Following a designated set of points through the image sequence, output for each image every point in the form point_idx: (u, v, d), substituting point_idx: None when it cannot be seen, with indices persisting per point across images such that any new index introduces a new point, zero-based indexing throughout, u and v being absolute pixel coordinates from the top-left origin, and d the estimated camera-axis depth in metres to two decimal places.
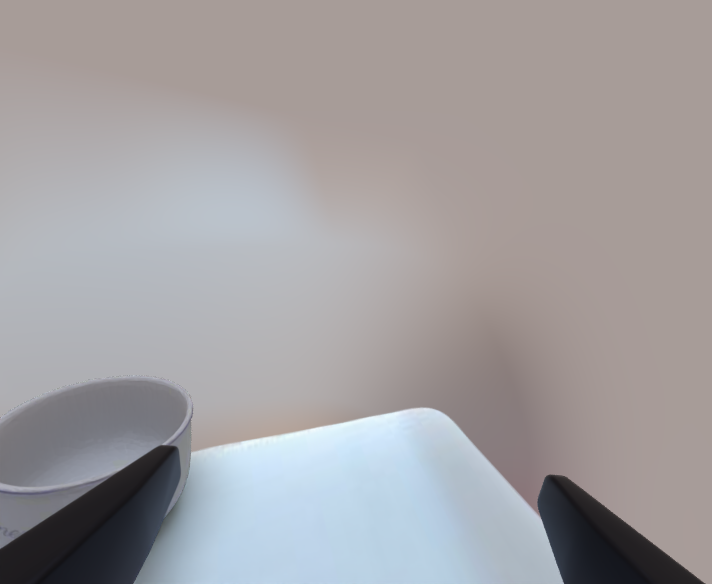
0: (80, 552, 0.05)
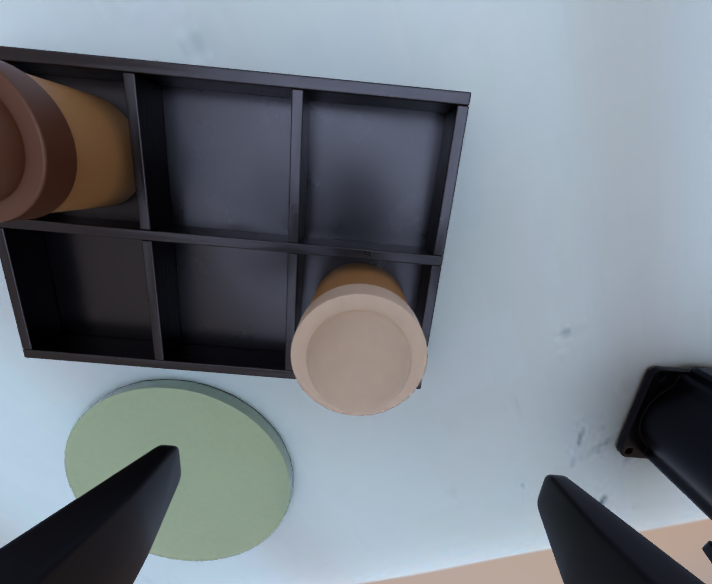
0: (80, 552, 0.05)
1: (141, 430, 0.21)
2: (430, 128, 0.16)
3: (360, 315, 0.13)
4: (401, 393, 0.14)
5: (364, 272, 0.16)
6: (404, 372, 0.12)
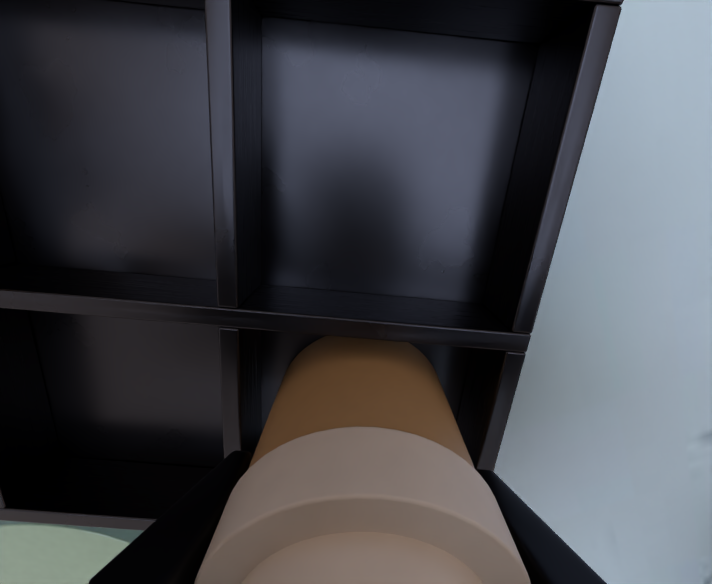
0: (190, 560, 0.05)
1: None
2: (505, 76, 0.08)
3: (367, 561, 0.04)
4: None
5: (372, 364, 0.08)
6: None
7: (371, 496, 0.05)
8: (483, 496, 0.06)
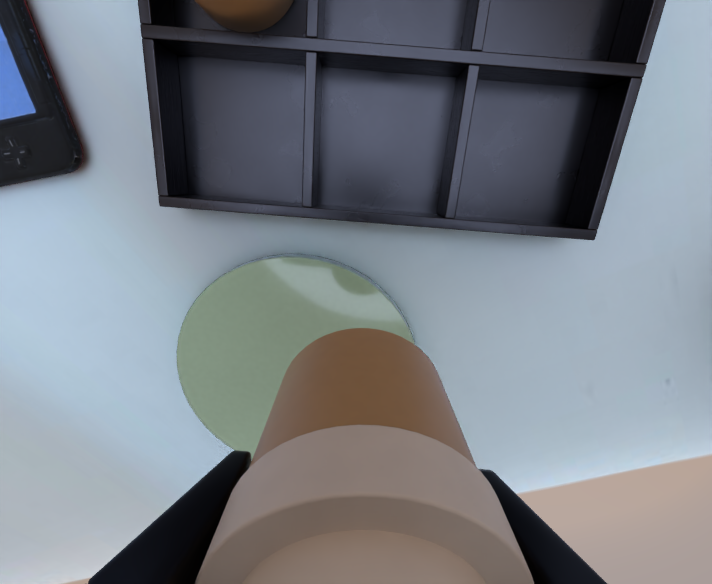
0: (189, 560, 0.05)
1: (263, 311, 0.20)
2: None
3: (369, 559, 0.04)
4: None
5: (373, 363, 0.08)
6: None
7: (373, 494, 0.05)
8: (485, 494, 0.06)
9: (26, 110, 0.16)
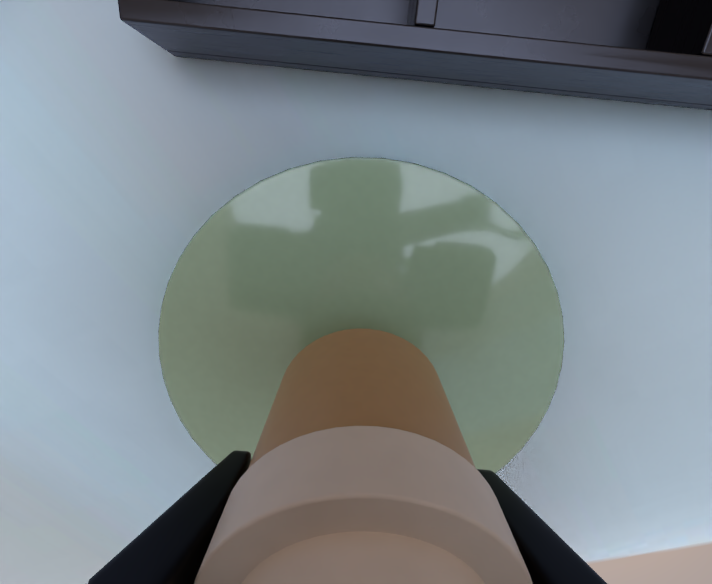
0: (189, 560, 0.05)
1: (310, 259, 0.11)
2: None
3: (368, 560, 0.04)
4: None
5: (372, 363, 0.08)
6: None
7: (372, 495, 0.05)
8: (484, 495, 0.06)
9: None
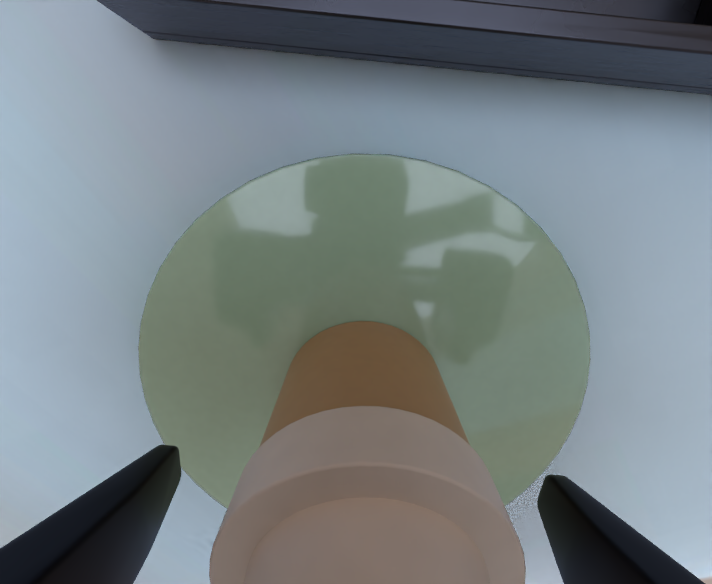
0: (80, 552, 0.05)
1: (307, 269, 0.10)
2: None
3: (371, 521, 0.05)
4: None
5: (375, 352, 0.09)
6: None
7: (375, 464, 0.05)
8: (478, 469, 0.06)
9: None
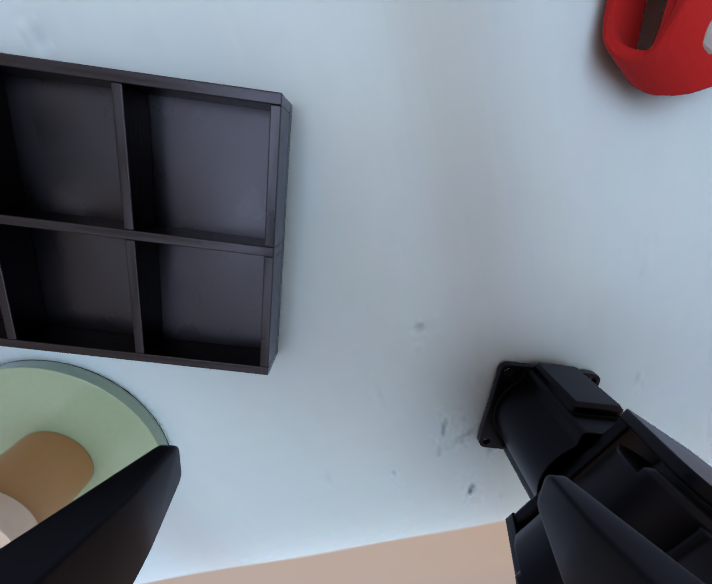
0: (80, 552, 0.05)
1: (13, 409, 0.22)
2: (266, 125, 0.17)
3: None
4: None
5: (20, 455, 0.21)
6: None
7: None
8: (3, 510, 0.18)
9: None
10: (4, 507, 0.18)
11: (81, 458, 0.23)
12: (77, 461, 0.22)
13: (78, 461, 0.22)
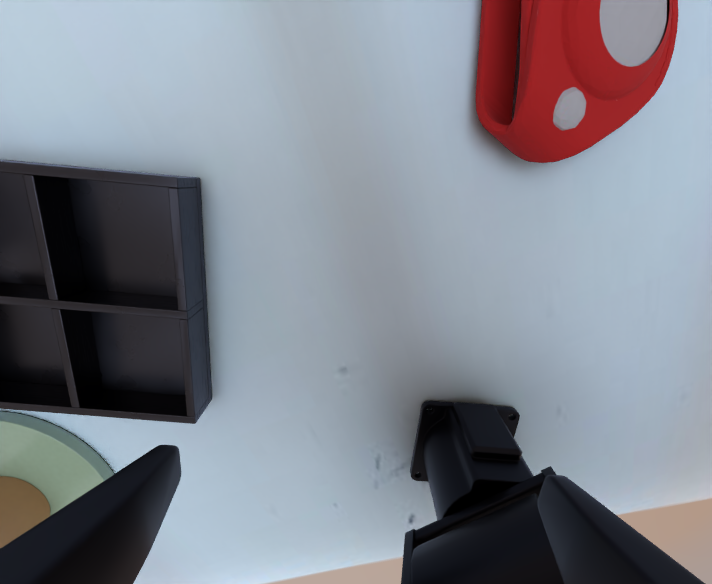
0: (80, 552, 0.05)
1: None
2: None
3: None
4: None
5: None
6: None
7: None
8: None
9: None
10: None
11: (36, 500, 0.24)
12: (32, 503, 0.24)
13: (33, 503, 0.24)
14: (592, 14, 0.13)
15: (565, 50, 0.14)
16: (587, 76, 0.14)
